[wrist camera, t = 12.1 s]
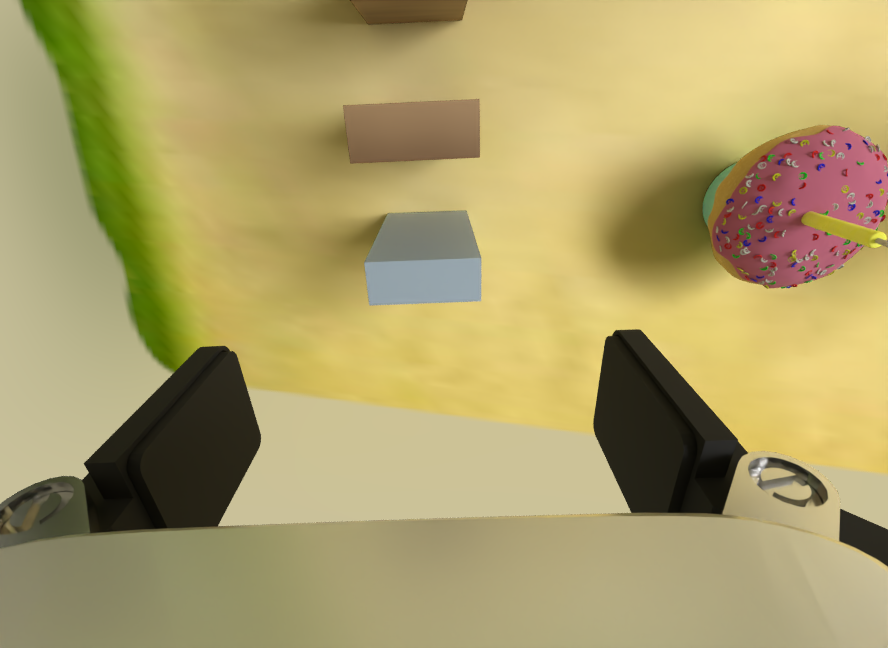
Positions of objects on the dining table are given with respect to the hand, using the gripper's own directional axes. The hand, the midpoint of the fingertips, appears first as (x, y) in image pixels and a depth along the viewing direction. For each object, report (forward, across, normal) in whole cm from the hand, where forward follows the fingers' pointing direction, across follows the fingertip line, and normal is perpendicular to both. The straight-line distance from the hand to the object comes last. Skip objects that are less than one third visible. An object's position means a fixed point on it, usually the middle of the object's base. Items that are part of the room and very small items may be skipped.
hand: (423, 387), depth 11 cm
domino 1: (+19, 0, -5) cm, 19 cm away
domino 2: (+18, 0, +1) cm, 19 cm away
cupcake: (+19, -20, 0) cm, 27 cm away
